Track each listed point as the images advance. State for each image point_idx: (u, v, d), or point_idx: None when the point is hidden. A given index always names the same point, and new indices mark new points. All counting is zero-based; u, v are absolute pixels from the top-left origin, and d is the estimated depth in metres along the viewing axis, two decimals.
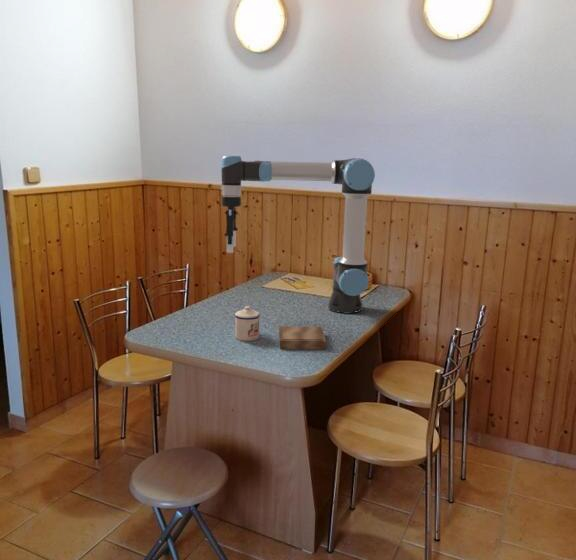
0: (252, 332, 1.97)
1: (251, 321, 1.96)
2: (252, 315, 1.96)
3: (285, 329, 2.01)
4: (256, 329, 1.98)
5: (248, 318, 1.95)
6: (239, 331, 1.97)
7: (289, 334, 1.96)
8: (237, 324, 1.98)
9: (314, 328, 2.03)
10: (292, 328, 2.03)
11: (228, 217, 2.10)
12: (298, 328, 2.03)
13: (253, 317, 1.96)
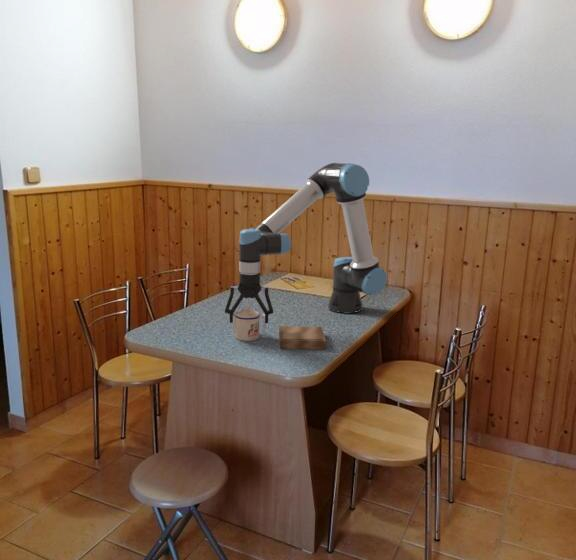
0: (252, 332, 1.97)
1: (251, 321, 1.96)
2: (252, 315, 1.96)
3: (285, 329, 2.01)
4: (256, 329, 1.98)
5: (248, 318, 1.95)
6: (239, 331, 1.97)
7: (289, 334, 1.96)
8: (237, 324, 1.98)
9: (314, 328, 2.03)
10: (292, 328, 2.03)
11: None
12: (298, 328, 2.03)
13: (253, 317, 1.96)
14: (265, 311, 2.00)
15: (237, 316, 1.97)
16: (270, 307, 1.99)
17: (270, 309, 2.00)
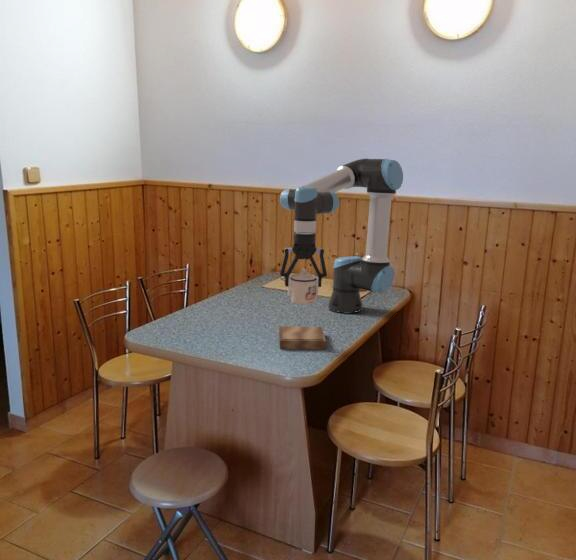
0: (309, 295, 1.90)
1: (308, 284, 1.89)
2: (310, 277, 1.89)
3: (285, 329, 2.01)
4: (313, 292, 1.91)
5: (306, 280, 1.88)
6: (296, 295, 1.90)
7: (289, 334, 1.96)
8: (294, 287, 1.90)
9: (314, 328, 2.03)
10: (292, 328, 2.03)
11: (284, 256, 1.92)
12: (298, 328, 2.03)
13: (311, 279, 1.89)
14: (319, 274, 1.92)
15: (294, 279, 1.89)
16: (324, 270, 1.92)
17: (324, 272, 1.92)
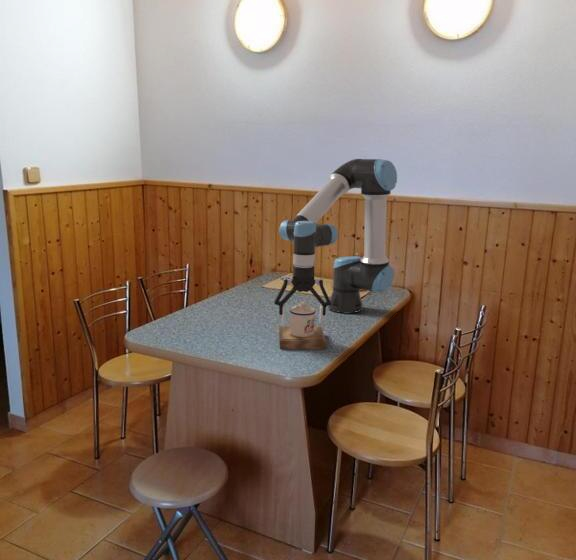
0: (308, 328, 1.93)
1: (307, 317, 1.92)
2: (309, 311, 1.92)
3: (285, 329, 2.01)
4: (312, 325, 1.94)
5: (305, 314, 1.91)
6: (295, 328, 1.93)
7: (289, 334, 1.96)
8: (293, 320, 1.93)
9: (314, 328, 2.03)
10: None
11: None
12: None
13: (310, 313, 1.91)
14: (322, 303, 1.95)
15: (293, 312, 1.92)
16: (327, 299, 1.94)
17: (328, 301, 1.95)
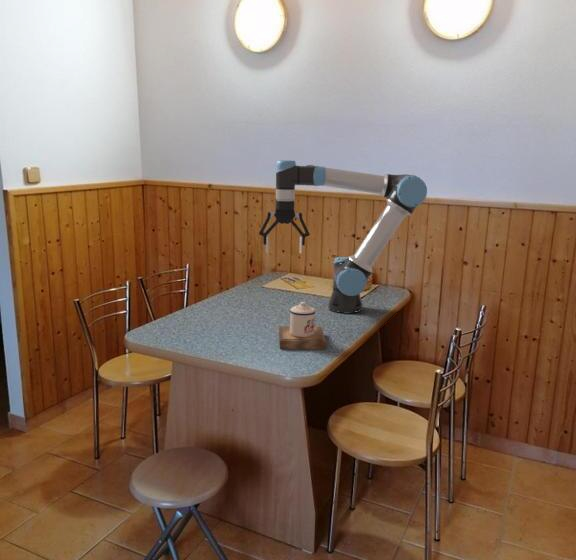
0: (308, 328, 1.93)
1: (307, 317, 1.92)
2: (309, 311, 1.92)
3: (285, 329, 2.01)
4: (312, 325, 1.94)
5: (305, 314, 1.91)
6: (295, 328, 1.93)
7: (289, 334, 1.96)
8: (293, 320, 1.93)
9: (314, 328, 2.03)
10: None
11: (266, 218, 2.20)
12: None
13: (310, 313, 1.91)
14: (302, 234, 2.20)
15: (293, 312, 1.92)
16: (306, 230, 2.20)
17: (306, 232, 2.20)
